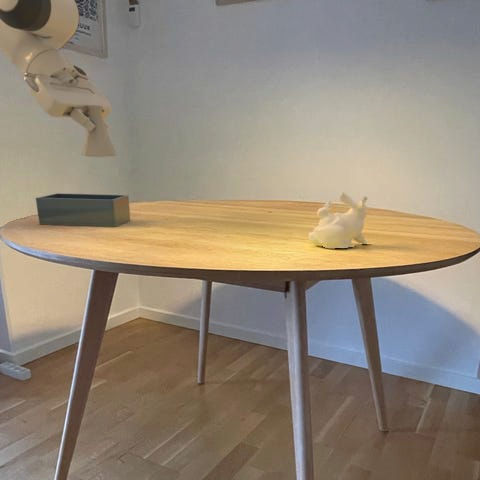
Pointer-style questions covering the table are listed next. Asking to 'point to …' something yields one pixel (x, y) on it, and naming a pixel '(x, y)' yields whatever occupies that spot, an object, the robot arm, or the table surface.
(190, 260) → the table surface
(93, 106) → the flask
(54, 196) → the open box
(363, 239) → the rabbit figurine
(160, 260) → the table surface
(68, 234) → the table surface
